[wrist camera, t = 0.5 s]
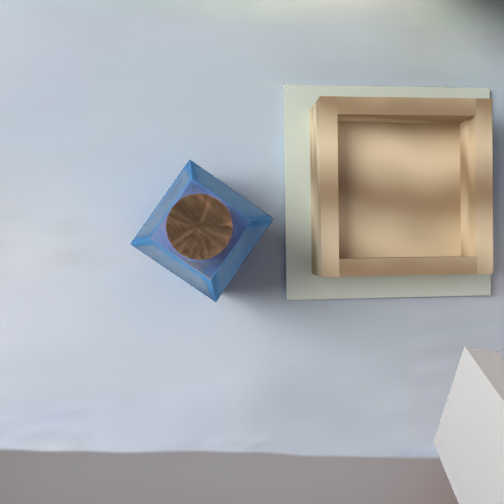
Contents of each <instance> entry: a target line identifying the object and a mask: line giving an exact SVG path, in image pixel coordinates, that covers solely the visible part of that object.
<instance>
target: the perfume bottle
mask: <svg viewBox="0 0 504 504" xmlns="http://www.w3.org/2000/svg"><path fill="white" fill-rule="evenodd" d="M272 220H273V218H272V217H271V216H269V215H268V214H266V213H265V212H264V211H262V210H261V209H259V208H258V207H256V206H255V205H254V204H252V203H251V202H249V201H248V200H246V199H245V198H244V197H242V196H241V195H239V194H238V193H237V192H235V191H234V190H232V189H231V188H229V187H228V186H227V185H225V184H224V183H222V182H221V181H219V180H218V179H217V178H215V177H214V176H212V175H211V174H210V173H208V172H207V171H205V170H204V169H202V168H201V167H200V166H198V165H197V164H195V163H194V162H193V161H191V160H189V161H188V163H187V164H186V166H185V167H184V168H183V170H182V171H181V173H180V174H179V176H178V177H177V178H176V180H175V181H174V183H173V184H172V186H171V187H170V188H169V190H168V191H167V193H166V194H165V195H164V197H163V198H162V200H161V201H160V203H159V204H158V205H157V207H156V208H155V210H154V211H153V213H152V214H151V215H150V217H149V218H148V220H147V221H146V222H145V224H144V225H143V227H142V228H141V230H140V231H139V232H138V234H137V235H136V237H135V238H134V240H133V241H132V242H131V245H133V246H134V247H136V248H137V249H138V250H140V251H141V252H143V253H144V254H146V255H147V256H149V257H150V258H152V259H153V260H155V261H156V262H158V263H159V264H161V265H162V266H163V267H165V268H166V269H168V270H169V271H171V272H172V273H174V274H175V275H177V276H178V277H180V278H181V279H183V280H184V281H186V282H187V283H188V284H190V285H191V286H193V287H194V288H196V289H197V290H199V291H200V292H202V293H203V294H205V295H206V296H208V297H209V298H211V299H212V300H214V301H215V302H216V301H217V300H218V298H219V297H220V295H221V294H222V293H223V291H224V290H225V288H226V287H227V285H228V284H229V282H230V281H231V280H232V278H233V277H234V275H235V274H236V272H237V271H238V269H239V268H240V267H241V265H242V264H243V262H244V261H245V259H246V258H247V256H248V255H249V253H250V252H251V251H252V249H253V248H254V246H255V245H256V243H257V242H258V240H259V239H260V238H261V236H262V235H263V233H264V232H265V230H266V229H267V227H268V226H269V225H270V223H271V222H272Z"/></svg>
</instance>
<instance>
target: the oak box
mask: <svg viewBox="0 0 504 504" xmlns="http://www.w3.org/2000/svg"><path fill="white" fill-rule="evenodd" d="M310 177H311V260H312V274H313V275H317V276H320V277H349V276H399V275H450V274H493V150H492V99H488V98H416V97H345V96H319V98H318V99H317V101H316V102H315V104H314V105H313V107H312V108H311V110H310Z"/></svg>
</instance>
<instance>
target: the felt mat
mask: <svg viewBox="0 0 504 504" xmlns="http://www.w3.org/2000/svg"><path fill="white" fill-rule="evenodd" d="M319 96H345V97H416V98H488V99H490V88H461V87H398V86H336V85H284V86H283V102H284V179H285V257H286V300H309V299H350V298H392V297H434V296H475V295H491V274H450V275H399V276H349V277H320V276H317V275H313V274H312V260H311V177H310V110H311V108H312V107H313V105H314V104H315V102H316V101H317V99H318V98H319Z"/></svg>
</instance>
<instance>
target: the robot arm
mask: <svg viewBox="0 0 504 504" xmlns="http://www.w3.org/2000/svg"><path fill="white" fill-rule="evenodd" d="M433 442H434V445H435V447H436V449H437V452H438V454H439V457H440V459H441V462H442V464H443V466H444V469H445V471H446V474H447V476H448V478H449V481H450V483H451V486H452V488H453V491H454V493H455V496H456V498H457V500H458V502H459V504H504V358H503V357H502V356H501V355H500V353H499V352H497V351H491V350H485V349H479V348H472V347H466V346H465V347H464V350H463V353H462V356H461V359H460V362H459V365H458V368H457V371H456V374H455V377H454V380H453V383H452V386H451V389H450V392H449V395H448V398H447V401H446V405H445V408H444V411H443V414H442V417H441V420H440V423H439V426H438V429H437V432H436V435H435V438H434V441H433Z"/></svg>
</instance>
